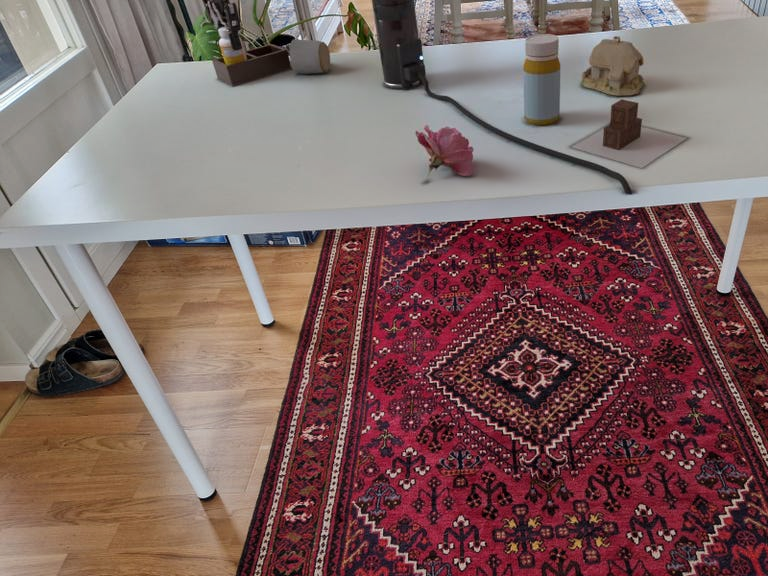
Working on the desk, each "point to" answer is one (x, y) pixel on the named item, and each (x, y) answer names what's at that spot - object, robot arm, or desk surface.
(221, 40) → the supplement bottle
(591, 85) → the ceramic model
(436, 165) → the flower
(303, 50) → the ceramic mug
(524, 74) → the bottle
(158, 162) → the desk surface
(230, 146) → the desk surface
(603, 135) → the stack of crates
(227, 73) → the compartment organizer
